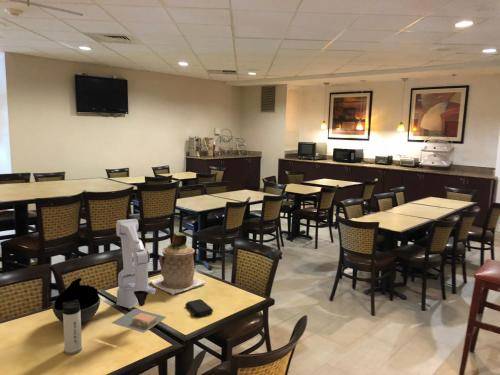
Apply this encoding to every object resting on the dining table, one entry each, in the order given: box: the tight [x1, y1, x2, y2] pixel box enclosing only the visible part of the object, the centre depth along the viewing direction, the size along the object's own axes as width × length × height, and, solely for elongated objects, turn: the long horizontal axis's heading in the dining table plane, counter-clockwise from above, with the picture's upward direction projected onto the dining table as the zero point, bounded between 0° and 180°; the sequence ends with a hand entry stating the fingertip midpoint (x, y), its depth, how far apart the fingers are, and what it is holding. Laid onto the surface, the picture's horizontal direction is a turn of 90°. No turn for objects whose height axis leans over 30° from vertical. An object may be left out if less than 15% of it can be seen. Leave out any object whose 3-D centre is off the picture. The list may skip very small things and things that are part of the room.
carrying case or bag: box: [185, 299, 214, 318], centre depth 188 cm, size 11×3×15 cm
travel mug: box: [62, 301, 83, 356], centre depth 150 cm, size 6×7×20 cm
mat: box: [111, 308, 167, 334], centre depth 176 cm, size 19×16×1 cm
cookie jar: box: [148, 230, 206, 296], centre depth 218 cm, size 25×25×32 cm
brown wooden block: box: [132, 313, 157, 328], centre depth 174 cm, size 3×6×9 cm
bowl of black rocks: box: [51, 277, 101, 325], centre depth 172 cm, size 20×20×19 cm
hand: (141, 305), depth 173 cm, fingers closed
